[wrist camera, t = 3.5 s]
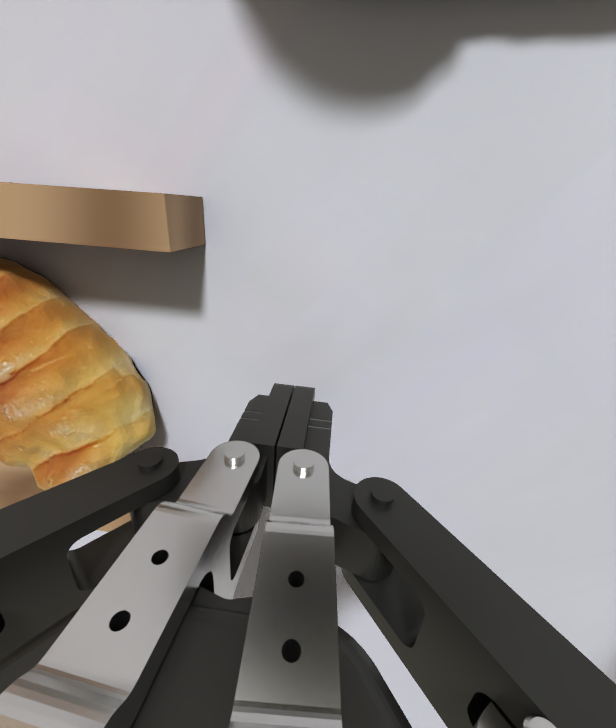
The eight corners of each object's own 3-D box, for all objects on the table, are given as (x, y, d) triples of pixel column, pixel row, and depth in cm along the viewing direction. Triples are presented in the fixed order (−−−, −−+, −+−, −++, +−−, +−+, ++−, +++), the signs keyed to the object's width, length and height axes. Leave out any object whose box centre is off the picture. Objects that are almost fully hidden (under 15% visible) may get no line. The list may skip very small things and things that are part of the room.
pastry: (-60, 298, 14) (-189, 325, 11) (42, 219, 12) (-76, 222, 9) (86, 459, 17) (20, 520, 14) (187, 415, 15) (140, 474, 12)
